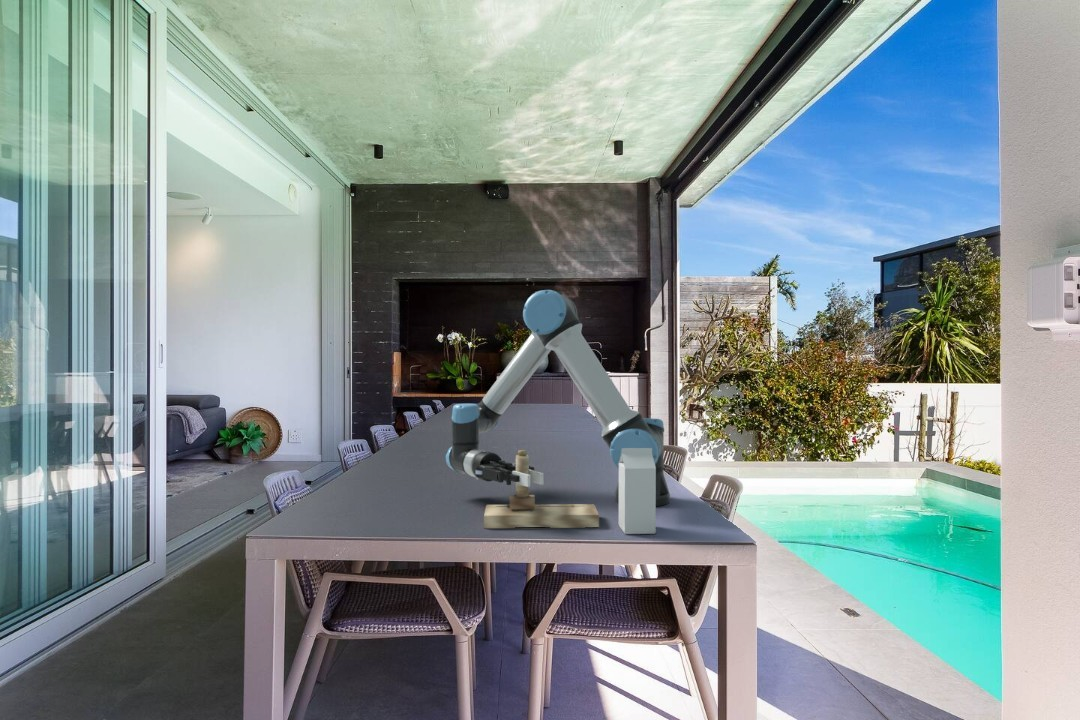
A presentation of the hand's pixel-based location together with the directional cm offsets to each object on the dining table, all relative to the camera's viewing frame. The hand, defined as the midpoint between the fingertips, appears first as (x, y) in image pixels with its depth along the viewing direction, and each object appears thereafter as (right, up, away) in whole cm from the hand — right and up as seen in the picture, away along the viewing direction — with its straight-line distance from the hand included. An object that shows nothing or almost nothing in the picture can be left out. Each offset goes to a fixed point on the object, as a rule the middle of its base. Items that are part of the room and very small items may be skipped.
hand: (535, 479), depth 139 cm
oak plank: (+1, -11, +4) cm, 12 cm away
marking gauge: (-3, -7, +4) cm, 9 cm away
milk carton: (+23, -11, -2) cm, 26 cm away
